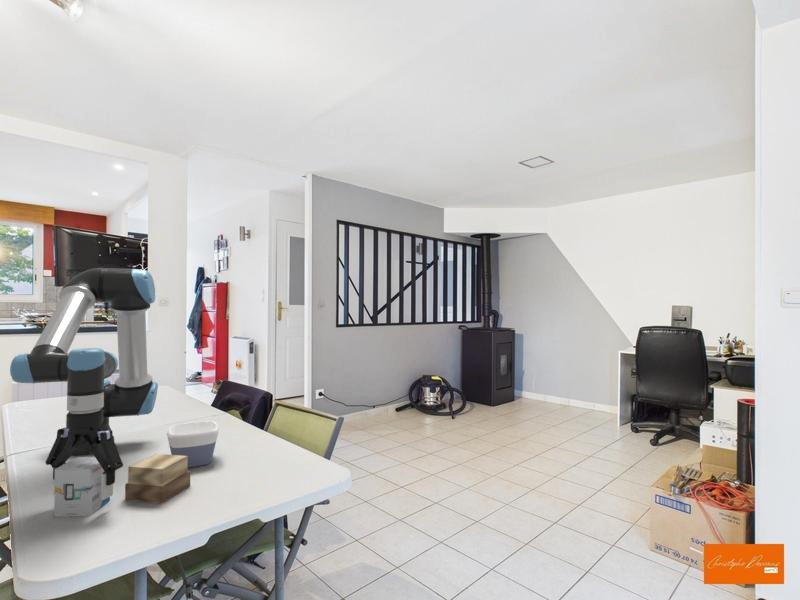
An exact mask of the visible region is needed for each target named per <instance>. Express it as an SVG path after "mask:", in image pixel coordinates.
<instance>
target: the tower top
mask: <svg viewBox="0 0 800 600" xmlns="http://www.w3.org/2000/svg"><path fill="white" fill-rule="evenodd" d="M187 463H188V456H181V455H171V454H166V453H155V454H153V455H150V456H148V457H145V458H144V459H142V460H139V461H138V462H134V463H133V464H131V465H129V466H128V468H127V471H128V474H127V475H128V476H127V483H128V484H137V485H148V486H160V487H163V486H164V485H166V484H168V483H169V482H171V481H173V480H174V479H176V478H178V477H180V476H181V475H183V474H185V473H186V472H187V471H188V468H187Z"/></svg>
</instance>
